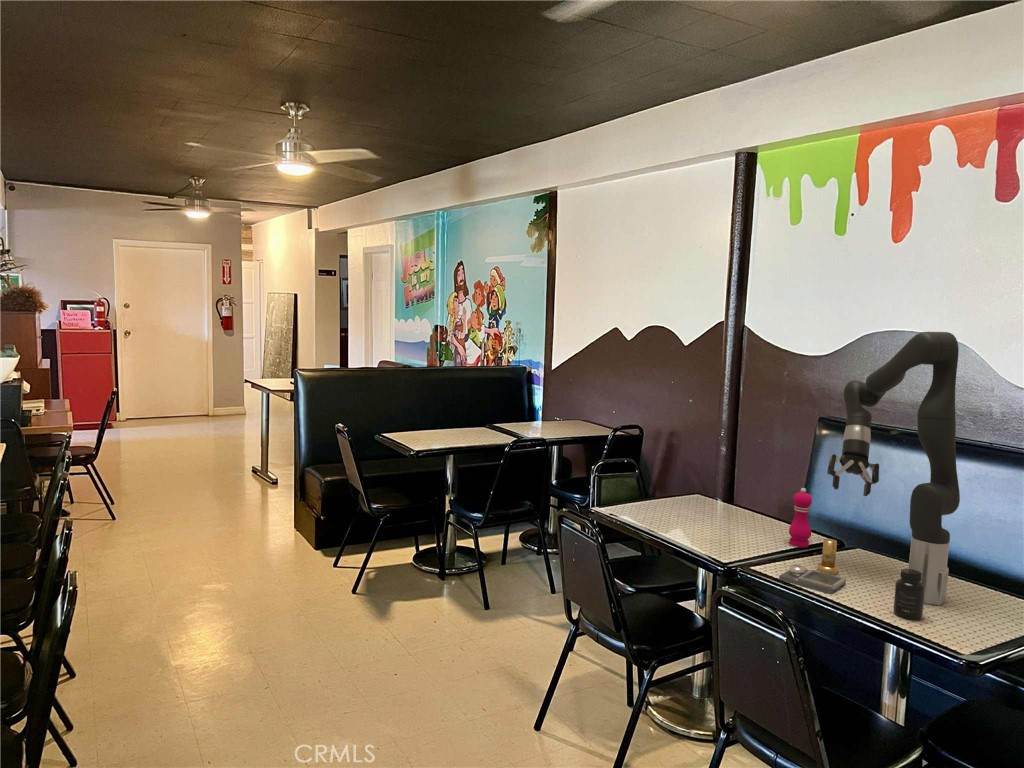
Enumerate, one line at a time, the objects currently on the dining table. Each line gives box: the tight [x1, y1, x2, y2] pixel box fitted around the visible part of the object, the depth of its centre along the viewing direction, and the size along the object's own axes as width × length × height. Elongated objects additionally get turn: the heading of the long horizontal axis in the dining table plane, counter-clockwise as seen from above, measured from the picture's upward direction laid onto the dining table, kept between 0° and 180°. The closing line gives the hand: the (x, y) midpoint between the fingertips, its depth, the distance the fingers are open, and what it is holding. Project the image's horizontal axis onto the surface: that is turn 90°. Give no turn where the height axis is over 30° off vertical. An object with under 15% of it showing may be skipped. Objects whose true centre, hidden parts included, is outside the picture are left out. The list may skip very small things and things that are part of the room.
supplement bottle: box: [893, 568, 925, 621], centre depth 190 cm, size 7×7×12 cm
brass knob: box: [816, 538, 840, 576], centre depth 222 cm, size 6×6×10 cm
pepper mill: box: [788, 487, 813, 548], centre depth 248 cm, size 7×7×20 cm
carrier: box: [778, 564, 847, 595], centre depth 213 cm, size 15×12×3 cm
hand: (850, 492), depth 219 cm, fingers open, 8 cm apart
